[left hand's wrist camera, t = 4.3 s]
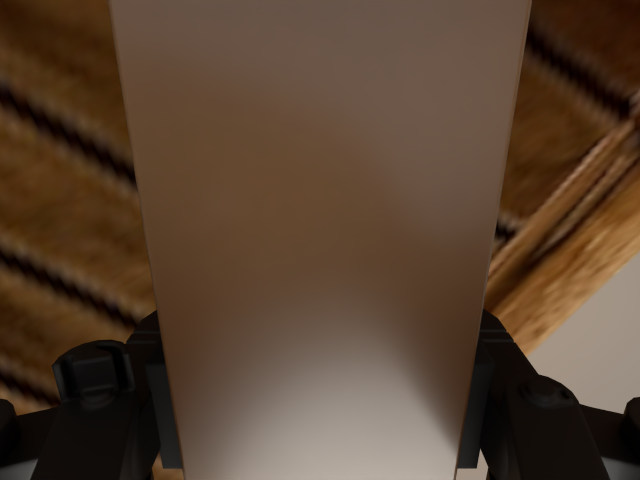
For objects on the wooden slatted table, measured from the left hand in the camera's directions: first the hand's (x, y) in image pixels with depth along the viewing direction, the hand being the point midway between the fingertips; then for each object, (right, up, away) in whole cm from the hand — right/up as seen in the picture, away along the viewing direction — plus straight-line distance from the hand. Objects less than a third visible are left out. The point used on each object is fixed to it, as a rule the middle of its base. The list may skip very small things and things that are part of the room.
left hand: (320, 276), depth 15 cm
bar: (0, +9, -3) cm, 10 cm away
